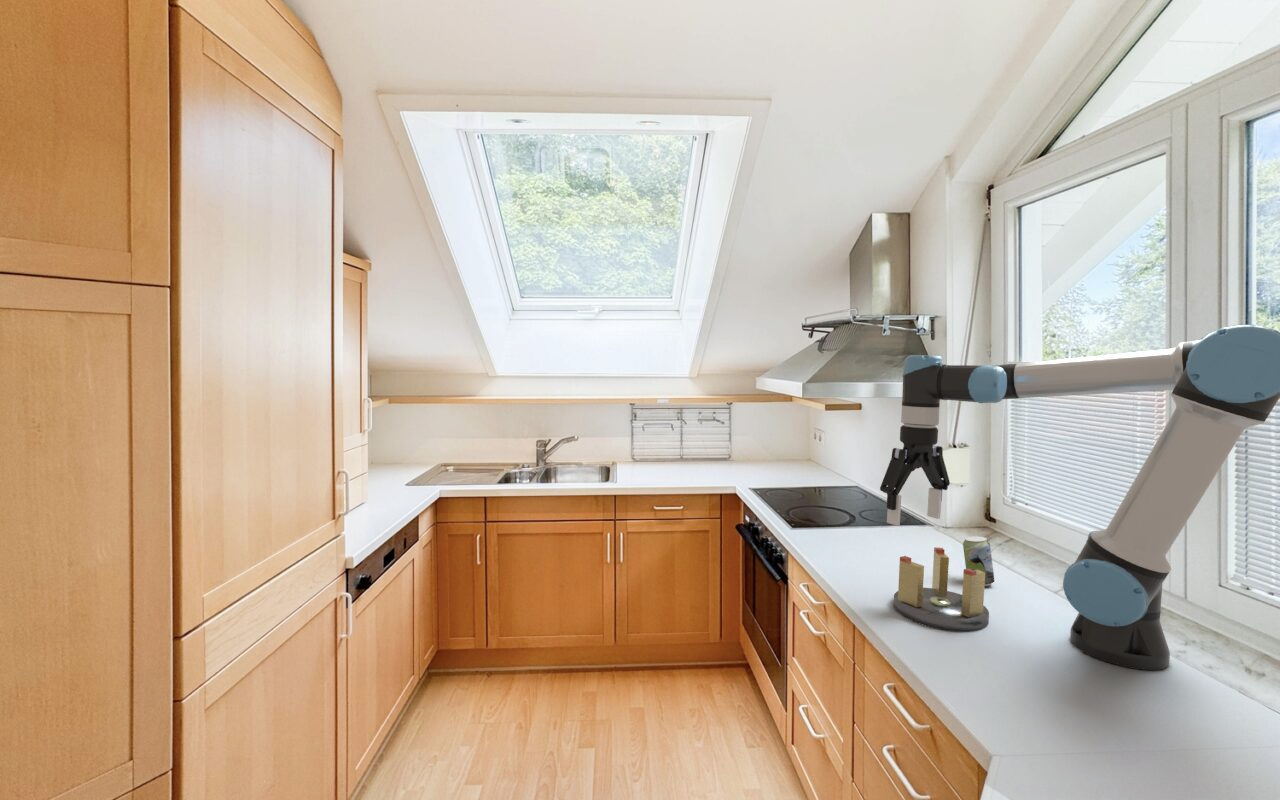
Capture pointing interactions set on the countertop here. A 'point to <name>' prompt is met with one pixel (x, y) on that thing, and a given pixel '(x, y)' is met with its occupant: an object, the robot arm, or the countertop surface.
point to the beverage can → (979, 556)
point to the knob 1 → (910, 582)
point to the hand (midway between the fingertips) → (913, 520)
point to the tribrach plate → (942, 612)
